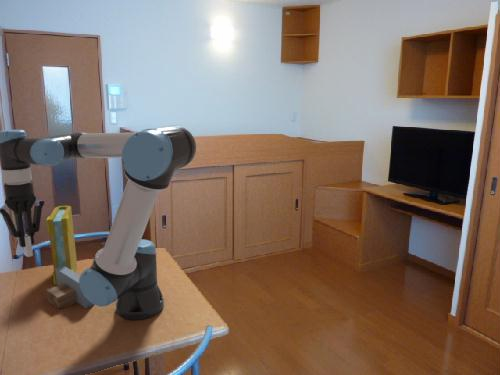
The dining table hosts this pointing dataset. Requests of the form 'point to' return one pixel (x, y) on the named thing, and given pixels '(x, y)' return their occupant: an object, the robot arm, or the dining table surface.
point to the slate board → (72, 284)
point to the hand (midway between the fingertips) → (28, 255)
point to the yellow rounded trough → (62, 239)
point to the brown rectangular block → (61, 296)
